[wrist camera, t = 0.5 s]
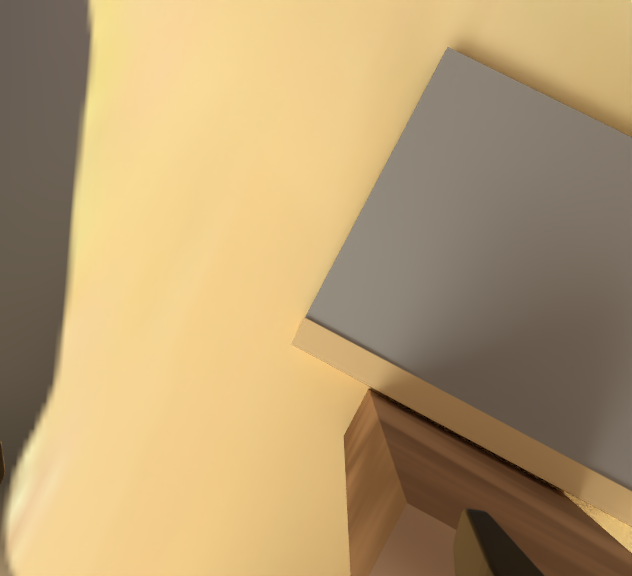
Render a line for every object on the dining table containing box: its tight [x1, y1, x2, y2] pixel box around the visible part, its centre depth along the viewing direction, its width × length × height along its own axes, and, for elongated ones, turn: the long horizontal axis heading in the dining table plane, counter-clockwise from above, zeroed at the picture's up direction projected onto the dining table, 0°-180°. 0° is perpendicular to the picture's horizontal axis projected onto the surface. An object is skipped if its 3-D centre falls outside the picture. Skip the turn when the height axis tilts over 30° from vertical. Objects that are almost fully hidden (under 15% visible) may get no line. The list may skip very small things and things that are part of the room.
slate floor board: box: [291, 47, 632, 527], centre depth 24 cm, size 18×22×1 cm
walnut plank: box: [344, 389, 632, 576], centre depth 18 cm, size 3×12×14 cm, turn 62°
